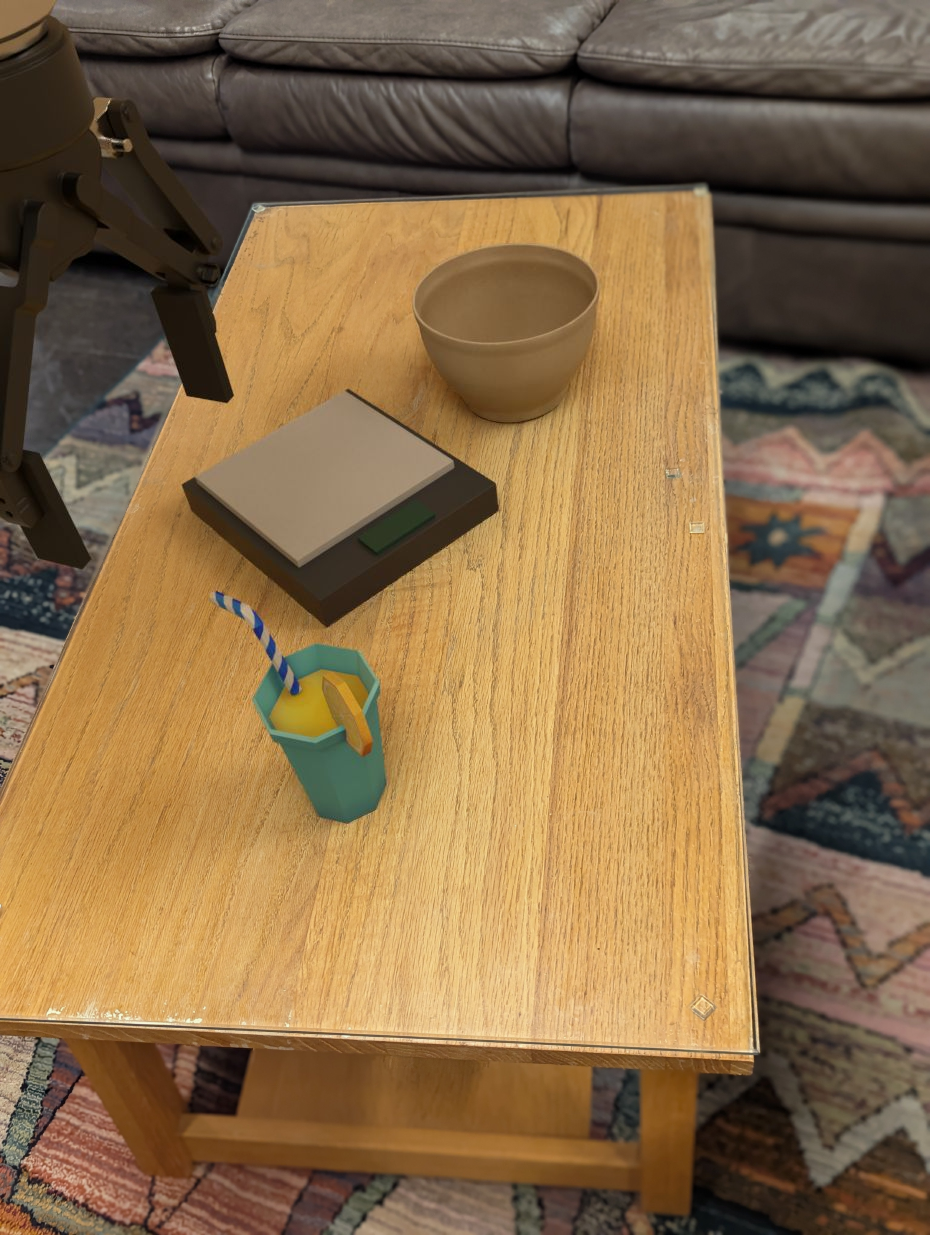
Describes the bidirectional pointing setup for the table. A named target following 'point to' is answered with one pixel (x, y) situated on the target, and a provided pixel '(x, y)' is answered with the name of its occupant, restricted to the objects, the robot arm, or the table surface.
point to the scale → (340, 503)
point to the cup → (322, 719)
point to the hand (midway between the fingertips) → (142, 472)
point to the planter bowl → (508, 325)
